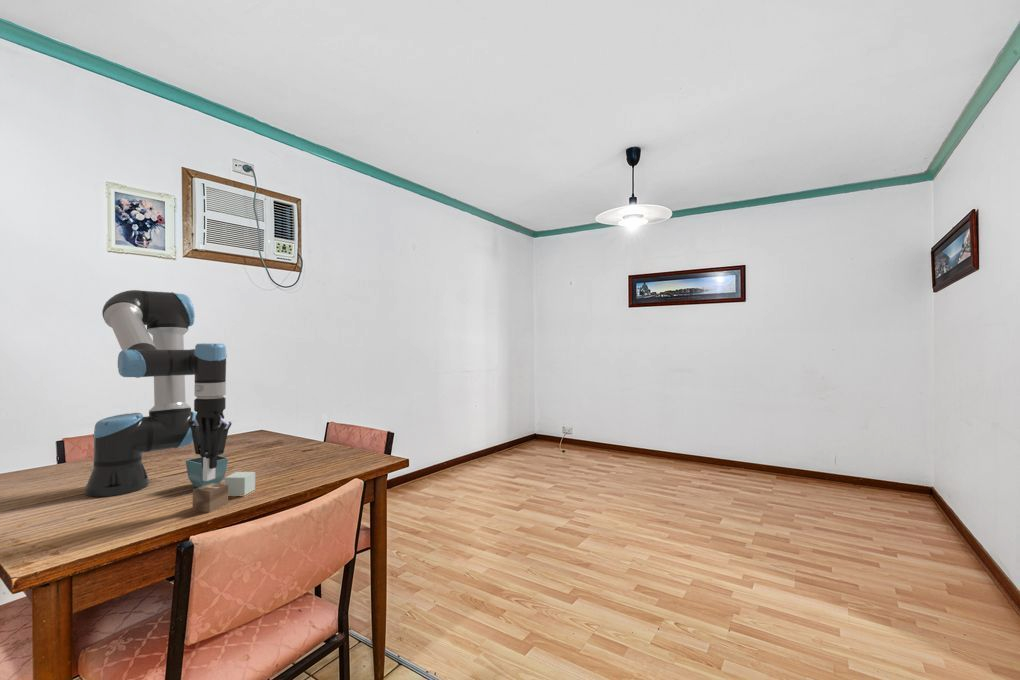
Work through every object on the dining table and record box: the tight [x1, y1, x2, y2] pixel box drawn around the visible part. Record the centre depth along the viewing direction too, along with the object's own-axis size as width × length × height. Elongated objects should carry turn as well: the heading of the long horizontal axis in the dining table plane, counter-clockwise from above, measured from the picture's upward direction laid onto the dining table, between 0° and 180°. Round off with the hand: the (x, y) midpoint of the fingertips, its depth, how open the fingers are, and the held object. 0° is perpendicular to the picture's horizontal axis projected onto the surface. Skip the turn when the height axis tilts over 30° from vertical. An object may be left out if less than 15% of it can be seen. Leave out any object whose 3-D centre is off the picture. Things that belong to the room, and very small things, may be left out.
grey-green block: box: [224, 471, 256, 496], centre depth 142 cm, size 6×6×6 cm
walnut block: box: [192, 483, 229, 513], centre depth 130 cm, size 6×6×6 cm
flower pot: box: [185, 455, 229, 488], centre depth 149 cm, size 9×9×9 cm
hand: (209, 479), depth 130 cm, fingers closed
